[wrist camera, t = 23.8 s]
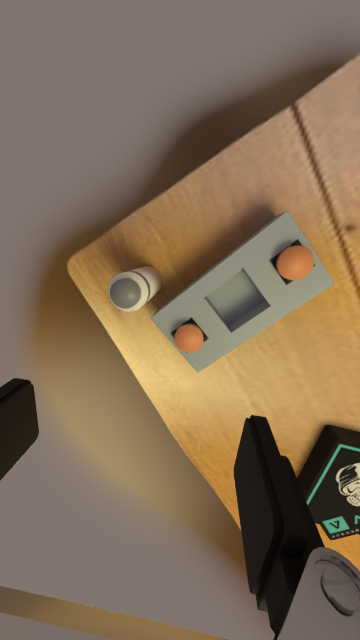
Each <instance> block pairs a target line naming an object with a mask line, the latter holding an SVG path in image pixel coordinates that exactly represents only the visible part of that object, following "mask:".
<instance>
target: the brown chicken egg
mask: <svg viewBox="0 0 360 640" xmlns="http://www.w3.org/2000/svg"><path fill="white" fill-rule="evenodd" d="M273 265H274V268H275V269H276V270H278V273H279V274H280V275H281V276H282V277H284V278H286V279H289V280H299V279H302V278H304V277H305V276H307V275H308V274H309V273H310V272H311V270H312V268H313V266H314V256H313V253H312V252H311V250H309V249H308V248H307V247H304V246H291V247H288V248H286V249H285V250H284V251H282V252H280V253H278V254H277V255H276V256H275V258H274V260H273Z"/></svg>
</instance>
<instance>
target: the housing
mask: <svg viewBox="0 0 360 640" xmlns="http://www.w3.org/2000/svg"><path fill="white" fill-rule="evenodd" d="M291 246H304V247H307V248H308V249H309V250H311V252H312V253H313V256H314V266H313V268H312V270H311V272H310V273H309V274H308V275H307V276H305V277H304V278H302V279H299V280H289V279H286V278H284V277H282V276H281V275H280V274H279V273H278V270H276V269H275V268H274V265H273V260H274V258H275V256H276V255H277V254H278V253H280V252H282V251H284V250H285V249H286V248H288V247H291ZM334 284H335V283H334V281H333V280H332V278H331V277H330V275H329V273H328V272H327V270H326V269H325V267H324V266H323V264H322V263H321V261H320V259H319V258H318V256H317V255H316V253H315V252H314V250H313V249H312V247H311V245H310V244H309V242H308V241H307V239H306V238H305V236H304V235H303V233H302V231H301V230H300V228H299V227H298V225H297V224H296V222H295V221H294V219H293V217H292V216H291V214H290V213H289V211H286V212H284V213H282V214H279V215H277V216H276V217H274V218H273V219H272V220H271V221H269V222H268V223H267V224H265V225H264V226H263V227H262V228H260V229H259V230H258V231H257V232H255V233H254V234H253V235H252V236H250V237H249V238H248V239H246V240H245V241H244V242H243V243H241V244H240V245H239V246H238V247H236V248H235V249H234V250H233V251H231V252H230V253H229V254H227V255H226V256H225V257H224V258H222V259H221V260H220V261H219V262H217V263H216V264H215V265H214V266H212V267H211V268H210V269H209V270H207V271H206V272H205V273H203V274H202V275H201V276H200V277H198V278H197V279H196V280H195V281H193V282H192V283H191V284H190V285H188V286H187V287H186V288H184V289H183V290H182V291H181V292H179V293H178V294H177V295H176V296H174V297H173V298H172V299H171V300H169V301H168V302H167V303H165V304H164V305H163V306H162V307H160V308H159V309H158V310H157V311H156V312H155V314H154V315H153V316H152V317H151V319H152V320H153V321H154V322H155V323H156V324H157V326H158V327H159V328H160V329H161V330H162V332H163V333H164V334H165V335H166V336H167V337H168V339H169V340H170V341H171V342H172V343H173V344H174V346H175V347H176V348H177V349H178V350H179V351H180V353H181V354H182V355H183V356H184V357H185V359H186V360H187V361H188V362H189V363H190V364H191V366H192V367H193V368H194V369H195V370H196V371H197V373H198V372H199V371H201V370H203V369H204V368H206V367H207V366H209V365H210V364H212V363H213V362H215V361H216V360H218V359H219V358H221V357H223V356H224V355H226V354H227V353H229V352H230V351H232V350H233V349H235V348H236V347H238V346H240V345H241V344H243V343H244V342H246V341H247V340H249V339H250V338H252V337H253V336H255V335H257V334H258V333H260V332H261V331H263V330H264V329H266V328H267V327H269V326H270V325H272V324H274V323H275V322H277V321H278V320H280V319H281V318H283V317H284V316H286V315H287V314H289V313H290V312H292V311H294V310H295V309H297V308H298V307H300V306H301V305H303V304H304V303H306V302H307V301H309V300H311V299H312V298H314V297H315V296H317V295H318V294H320V293H321V292H323V291H324V290H326V289H328V288H329V287H331V286H332V285H334ZM189 320H192V321H195V322H196V323H197V324H198V326H199V328H200V329H201V331H202V333H203V344H202V346H201V347H200V349H198V350H197V351H195V352H191V353H187V352H183V351H181V350H180V349H179V348H178V347H177V346H176V344H175V340H174V338H175V334H176V331H177V329H178V328H179V327H180V326H182V325H183V324H184V323H185V322H186V321H189Z"/></svg>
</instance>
